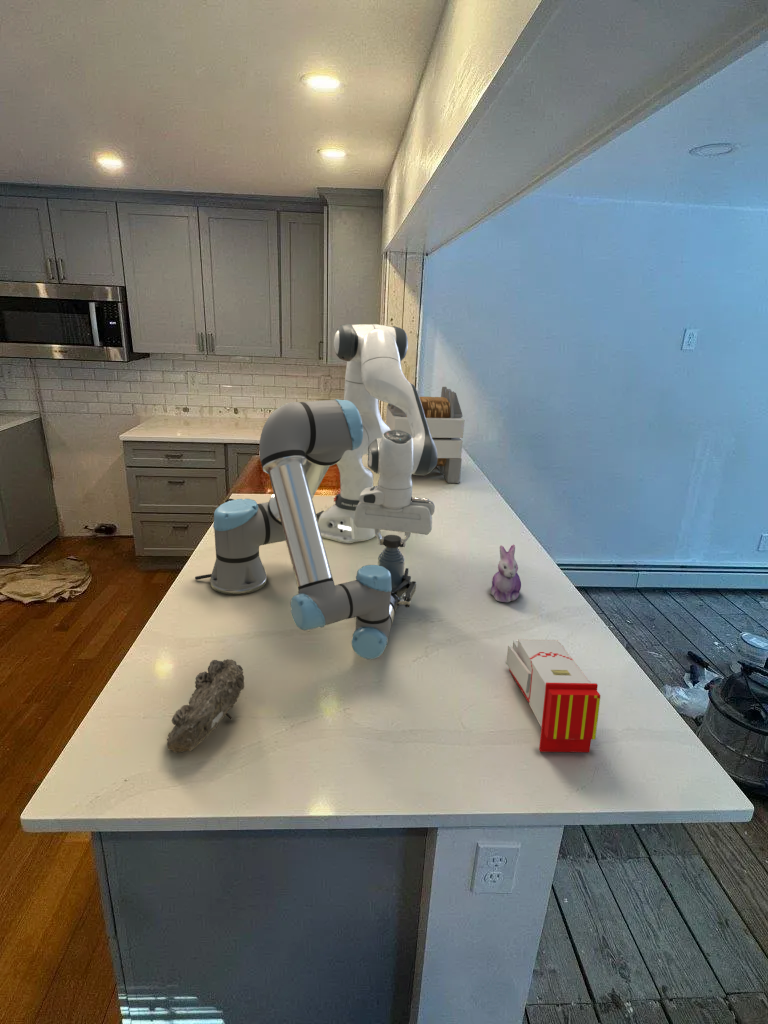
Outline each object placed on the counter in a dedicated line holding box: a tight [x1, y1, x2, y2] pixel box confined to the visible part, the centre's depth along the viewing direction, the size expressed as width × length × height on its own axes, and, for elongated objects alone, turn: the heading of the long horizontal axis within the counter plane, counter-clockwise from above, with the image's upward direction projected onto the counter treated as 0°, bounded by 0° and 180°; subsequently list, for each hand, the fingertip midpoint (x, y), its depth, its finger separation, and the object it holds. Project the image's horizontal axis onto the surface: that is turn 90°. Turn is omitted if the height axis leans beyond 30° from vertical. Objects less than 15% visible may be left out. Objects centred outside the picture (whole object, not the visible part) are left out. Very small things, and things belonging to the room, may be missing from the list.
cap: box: [383, 534, 402, 549], centre depth 149 cm, size 5×5×2 cm
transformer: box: [385, 386, 465, 484], centre depth 268 cm, size 34×33×41 cm
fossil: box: [166, 658, 245, 754], centre depth 106 cm, size 22×10×15 cm
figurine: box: [490, 544, 522, 603], centre depth 157 cm, size 9×10×15 cm
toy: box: [505, 638, 602, 753], centre depth 114 cm, size 12×13×30 cm
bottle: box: [377, 546, 406, 599], centre depth 152 cm, size 7×7×18 cm
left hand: (392, 571), depth 157 cm, fingers closed on bottle, 7 cm apart
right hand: (391, 545), depth 149 cm, fingers closed on cap, 4 cm apart
